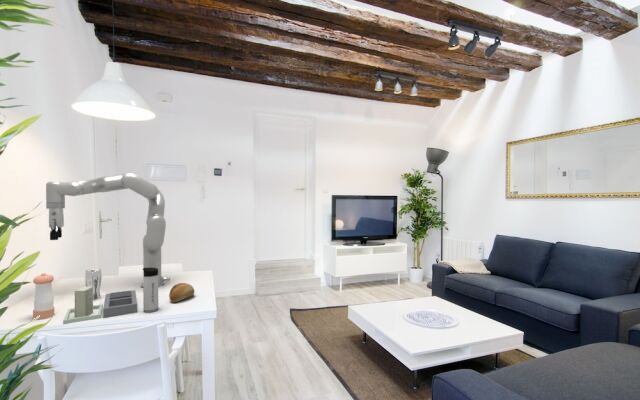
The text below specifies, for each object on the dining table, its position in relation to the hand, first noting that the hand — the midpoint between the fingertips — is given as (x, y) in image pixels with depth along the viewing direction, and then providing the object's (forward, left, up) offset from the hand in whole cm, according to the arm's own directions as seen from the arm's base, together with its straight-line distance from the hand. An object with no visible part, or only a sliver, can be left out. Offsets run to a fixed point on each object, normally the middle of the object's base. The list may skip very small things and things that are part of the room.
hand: (56, 238), depth 167 cm
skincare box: (-15, +36, -31) cm, 49 cm away
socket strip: (-29, +32, -31) cm, 53 cm away
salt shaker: (0, +29, -31) cm, 42 cm away
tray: (-15, +36, -31) cm, 49 cm away
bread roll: (-56, +34, -31) cm, 72 cm away
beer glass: (-17, +12, -31) cm, 37 cm away
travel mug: (-41, +44, -31) cm, 67 cm away
